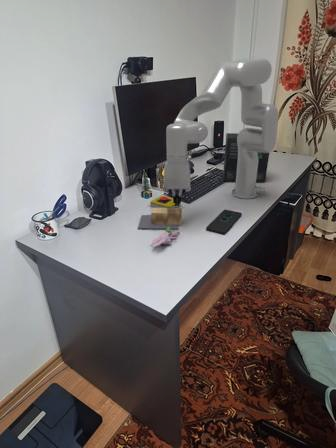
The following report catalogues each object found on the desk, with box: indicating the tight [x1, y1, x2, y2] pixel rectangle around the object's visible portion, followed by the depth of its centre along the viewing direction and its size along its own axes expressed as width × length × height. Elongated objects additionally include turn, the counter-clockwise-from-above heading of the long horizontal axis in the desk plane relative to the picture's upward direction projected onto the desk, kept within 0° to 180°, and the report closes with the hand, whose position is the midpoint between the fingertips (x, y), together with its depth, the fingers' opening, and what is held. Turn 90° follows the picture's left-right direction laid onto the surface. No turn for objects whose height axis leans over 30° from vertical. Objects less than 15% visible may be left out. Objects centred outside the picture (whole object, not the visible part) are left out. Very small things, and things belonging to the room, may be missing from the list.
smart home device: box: [205, 209, 242, 236], centre depth 126 cm, size 8×2×20 cm
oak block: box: [150, 208, 183, 226], centre depth 125 cm, size 5×5×12 cm
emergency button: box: [147, 195, 186, 210], centre depth 140 cm, size 9×4×15 cm
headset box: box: [222, 132, 270, 184], centre depth 167 cm, size 22×12×26 cm, turn 84°
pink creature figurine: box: [151, 227, 181, 247], centre depth 111 cm, size 6×6×15 cm
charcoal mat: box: [137, 214, 180, 231], centre depth 126 cm, size 16×12×1 cm
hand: (177, 204), depth 122 cm, fingers closed
